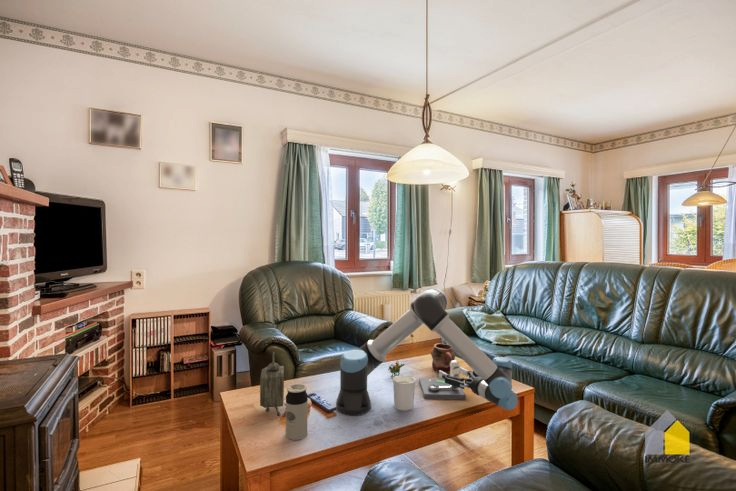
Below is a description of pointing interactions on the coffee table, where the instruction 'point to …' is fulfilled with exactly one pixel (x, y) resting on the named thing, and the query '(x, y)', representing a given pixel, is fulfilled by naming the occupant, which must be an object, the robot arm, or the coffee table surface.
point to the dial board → (440, 390)
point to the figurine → (395, 368)
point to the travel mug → (296, 411)
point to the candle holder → (404, 392)
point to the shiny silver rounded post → (453, 372)
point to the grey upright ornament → (272, 386)
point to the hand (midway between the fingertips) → (449, 371)
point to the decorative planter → (442, 357)
